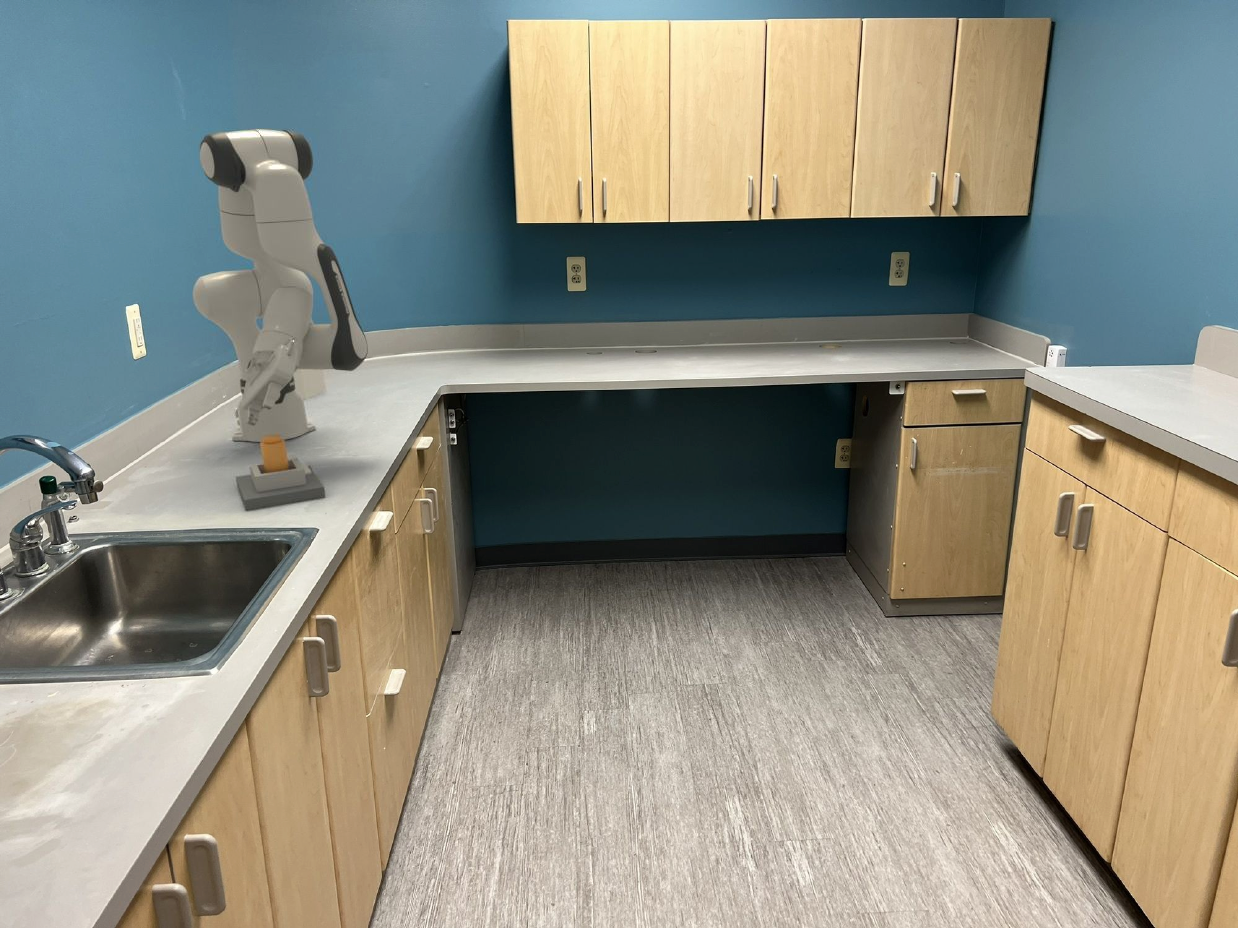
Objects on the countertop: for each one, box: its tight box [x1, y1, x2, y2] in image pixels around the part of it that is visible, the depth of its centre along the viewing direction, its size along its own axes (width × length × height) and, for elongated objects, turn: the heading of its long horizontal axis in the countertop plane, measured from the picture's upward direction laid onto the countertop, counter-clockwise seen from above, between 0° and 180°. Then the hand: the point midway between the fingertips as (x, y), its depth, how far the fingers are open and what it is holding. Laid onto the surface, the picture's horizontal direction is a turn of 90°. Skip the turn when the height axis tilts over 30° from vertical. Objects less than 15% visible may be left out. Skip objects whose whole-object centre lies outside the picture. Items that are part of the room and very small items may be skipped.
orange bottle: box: [259, 435, 289, 473], centre depth 165 cm, size 4×4×9 cm
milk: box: [293, 369, 327, 401], centre depth 248 cm, size 12×12×26 cm
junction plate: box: [235, 457, 326, 511], centre depth 166 cm, size 16×14×5 cm
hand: (259, 415), depth 167 cm, fingers open, 8 cm apart
